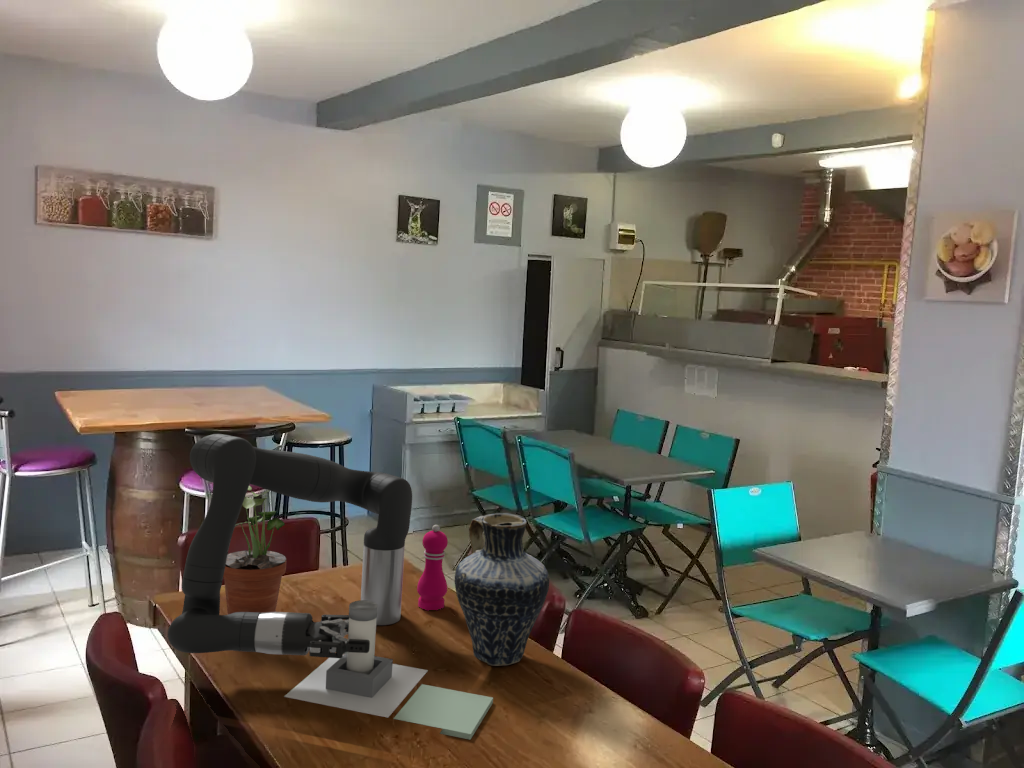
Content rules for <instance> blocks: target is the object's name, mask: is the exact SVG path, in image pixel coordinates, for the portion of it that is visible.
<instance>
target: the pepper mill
mask: <svg viewBox="0 0 1024 768" xmlns="http://www.w3.org/2000/svg"><path fill="white" fill-rule="evenodd" d="M431 528H432V529H431V530H429V531H428V532H426V533H425V534H424V535H423V537H422V546H423V548H424V551H423V553H424V554H423V558H424V559H425V562H424V563H425V564H424V570H423V571H422V574H421V576H420V577H419V579H418V582H417V587H416V592H417V593H418V595H419V597H418V600H417V601H418V602H417V603H418V604H417V605H418V608H419V607H420V608H419V609H421V608H422V609H421V610H423V609H425V610H424V611H429V610H436V611H439V610H438V609H440V610H442V609H444V608H445V598H444V596H445V595H446V594H447V593H448V583H447V579H446V576H445V575H444V570H443V561H444V558H445V557H446V556H445V554H446V552H445V550H446V548H447V546H448V545H449V544H448V543H449V542H448V537H447V535H446V533H444V532H443V531H441V530H440V528H441V527H440V526H439V525H438V524H434V525H433V526H432V527H431ZM441 608H442V609H441Z"/></svg>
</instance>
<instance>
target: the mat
mask: <svg viewBox="0 0 1024 768" xmlns="http://www.w3.org/2000/svg"><path fill="white" fill-rule="evenodd" d="M493 703H494V697H492V696H486V695H481V694H476V693H471V692H465V691H460V690H455V689H450V688H445V687H440V686H434V685H428V684H423V683H421V684H420V686H419V687H418V688H417V690H415V692H414V693H413V694H412V696H411V697H410V698H409V699H408V700H407V702H406V703H405V704H404V705H403V706H402V708H401V709H400V710H399V711H398V712H397V713H396V715H395V716H394V717H393V720H399V721H402V722H408V723H411V724H412V723H414V724H418V725H421V726H427V727H432V728H438V729H441V731H440V732H439V734H440V735H446V736H450V737H454V738H455V737H456V738H460V739H466V740H471V739H472V738H473V737H474V735H475V733H476V732H477V730H478V728H479V726H480V725H481V724H482V721H483V720H484V718H485V716H486V715H487V713H488V711H489V710H490V708H491V707H492V705H493Z"/></svg>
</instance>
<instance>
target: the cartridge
mask: <svg viewBox="0 0 1024 768" xmlns="http://www.w3.org/2000/svg"><path fill="white" fill-rule="evenodd" d="M348 607H349V608H348V615H349V631H348V634H347V639H348V641H349V639H362V640H369V641H370V649H369V652H368V653H355V652H348V653H347V669H346V670H347V671H353V672H358V673H363V674H368V675H369V674H370V673H371V672H372V671H373V670H374V656H375V651H376V649H375V648H376V632H377V625H376V617H377V609H378V605H377V603H375V602H372V601H367V600H361V599H360V600H355V601H352V602H350V603H349V605H348Z"/></svg>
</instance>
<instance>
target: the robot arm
mask: <svg viewBox="0 0 1024 768" xmlns="http://www.w3.org/2000/svg"><path fill="white" fill-rule="evenodd" d="M189 463H190V465H191V467H192V470H193V471H194V472H195V474H196V475H197V476H199V478H201V479H203V480H205V481H208V482H210V483H212V494H211V500H210V504H209V507H208V511H207V512H206V515H205V517H204V519H203V521H202V523H201V525H200V526H199V527H198V530H197V531H196V533H195V535H194V537H193V539H192V540H191V543H190V545H189V546H188V547H189V548H188V551H187V556H186V559H185V565H184V568H183V569H184V570H183V574H182V581H181V592H182V593H183V594H184V599H183V606H182V611H181V614H180V615H178V616H177V617H175V618H174V619H173V620H172V622H171V623H170V625H169V627H168V630H167V640H168V641H169V643H170V645H171V646H172V647H173V648H174V649H175V650H177V651H179V652H182V653H185V654H207V653H219V652H226V651H233V652H234V651H235V652H247V653H248V652H249V653H262V654H267V655H283V656H284V655H285V656H286V655H287V656H290V655H291V656H307V655H309V657H315V658H327V659H328V658H342V657H343V655H345V654H347V653H348V652H355V653H368V652H369V649H370V641H369V640H362V639H349V641H348V638H346V637H345V636H346V635H347V636H348V631H349V614H322V615H321V619H320V621H314V620H313V615H312V614H311V613H309V612H290V611H289V612H288V611H287V612H285V611H276V612H266V613H260V612H235V613H232V614H228V613H227V614H220V610H221V608H220V607H221V588H222V585H223V580H224V578H223V576H224V571H225V565H226V560H227V555H228V554H229V549H230V545H231V541H232V538H233V533H234V531H235V528H236V527H235V525H236V524H237V521H238V518H239V516H240V513H241V511H242V507H243V505H242V504H243V501H244V498H245V497H247V493H248V491H249V490H248V487H249V486H252V485H253V486H256V487H259V488H261V489H264V490H266V491H267V490H270V491H269V492H274V493H275V494H279V495H282V496H285V497H289V498H293V499H296V500H302V501H306V502H307V501H309V502H313V503H333V502H343V503H347V504H350V505H353V506H356V507H359V508H362V509H364V510H367V512H371V513H374V514H376V515H377V516H378V518H377V525H376V527H371V528H369V529H368V530H366V531H365V532H364V534H363V535H364V536H363V546H362V547H363V550H362V567H361V568H362V569H361V589H360V600H367V601H372V602H375V603H377V605H378V609H377V617H376V626H387V625H393V624H395V623H398V622H399V621H400V620H401V615H402V614H401V613H402V601H403V600H402V597H403V595H402V594H403V582H404V564H405V548H406V546H405V544H406V538H407V537H408V534H409V531H410V525H411V518H412V517H411V516H412V515H411V514H412V505H413V490H412V487H411V484H410V482H408V480H406V479H405V478H403V477H400V476H396V475H393V474H390V473H386V472H381V471H378V472H377V471H366V470H358V469H352V468H348V467H345V466H344V465H342V464H340V463H337V462H335V461H333V460H330V459H327V458H323V457H321V456H316V455H311V454H307V453H301V452H295V451H286V450H275V449H268V448H267V449H265V448H261V447H256V446H253V445H252V443H251V442H249V440H247V439H245V438H243V437H239V436H233V435H229V434H222V433H213V434H210V435H205V436H204V437H202V438H200V439H199V440H197V442H195V443H194V444H193V446H192V448H191V450H190V453H189Z"/></svg>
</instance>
